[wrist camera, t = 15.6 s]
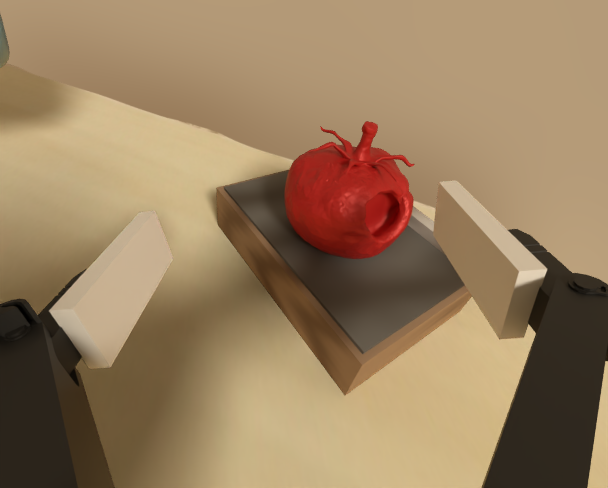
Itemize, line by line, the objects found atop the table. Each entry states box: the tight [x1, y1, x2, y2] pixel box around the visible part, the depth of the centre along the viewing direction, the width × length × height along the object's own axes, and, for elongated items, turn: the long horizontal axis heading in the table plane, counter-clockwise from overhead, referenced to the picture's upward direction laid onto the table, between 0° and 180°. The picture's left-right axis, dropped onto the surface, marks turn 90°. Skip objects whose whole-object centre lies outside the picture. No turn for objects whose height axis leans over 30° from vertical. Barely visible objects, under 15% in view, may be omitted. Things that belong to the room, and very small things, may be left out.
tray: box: [217, 170, 472, 395], centre depth 30 cm, size 20×14×6 cm
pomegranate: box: [285, 121, 414, 259], centre depth 25 cm, size 10×10×9 cm
